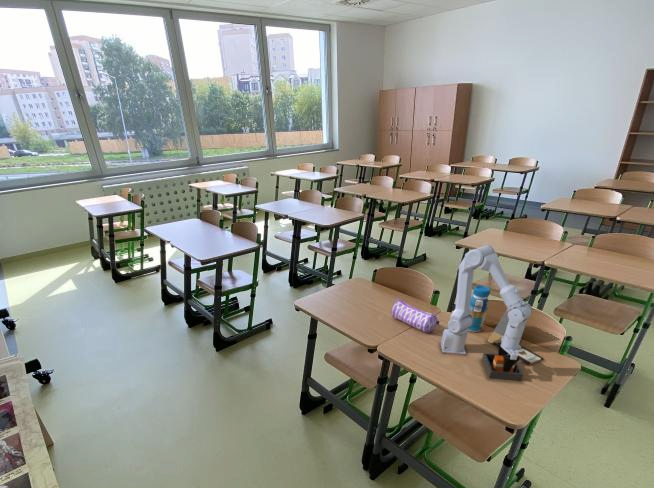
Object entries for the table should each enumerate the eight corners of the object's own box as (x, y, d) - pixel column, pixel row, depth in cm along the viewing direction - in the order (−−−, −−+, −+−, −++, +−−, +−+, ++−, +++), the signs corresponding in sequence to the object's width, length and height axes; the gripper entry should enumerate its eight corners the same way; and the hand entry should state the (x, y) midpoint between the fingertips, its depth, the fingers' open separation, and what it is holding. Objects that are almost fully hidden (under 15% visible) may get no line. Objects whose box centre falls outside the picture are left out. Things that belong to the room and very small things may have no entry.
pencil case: (438, 330, 182) (441, 311, 177) (426, 336, 177) (430, 317, 172) (399, 314, 196) (402, 296, 191) (388, 319, 191) (390, 301, 186)
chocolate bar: (507, 338, 175) (543, 357, 162) (507, 340, 176) (542, 359, 162) (493, 342, 172) (528, 363, 158) (492, 344, 172) (527, 365, 159)
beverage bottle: (459, 326, 186) (468, 286, 175) (471, 322, 190) (481, 283, 179) (472, 334, 180) (483, 293, 169) (485, 330, 183) (496, 289, 173)
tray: (488, 379, 150) (490, 371, 148) (481, 360, 161) (483, 352, 160) (520, 382, 149) (523, 374, 147) (511, 362, 160) (513, 355, 158)
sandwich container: (486, 341, 174) (493, 310, 167) (503, 331, 183) (511, 301, 175) (504, 348, 169) (513, 316, 161) (521, 337, 177) (530, 306, 170)
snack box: (493, 371, 154) (497, 359, 151) (491, 366, 157) (495, 355, 154) (512, 373, 153) (516, 361, 150) (510, 368, 156) (513, 356, 153)
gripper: (530, 345, 140) (519, 377, 147) (518, 326, 152) (509, 356, 159) (509, 344, 141) (499, 375, 148) (499, 325, 153) (491, 355, 160)
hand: (503, 365), depth 154 cm, fingers open, 7 cm apart
